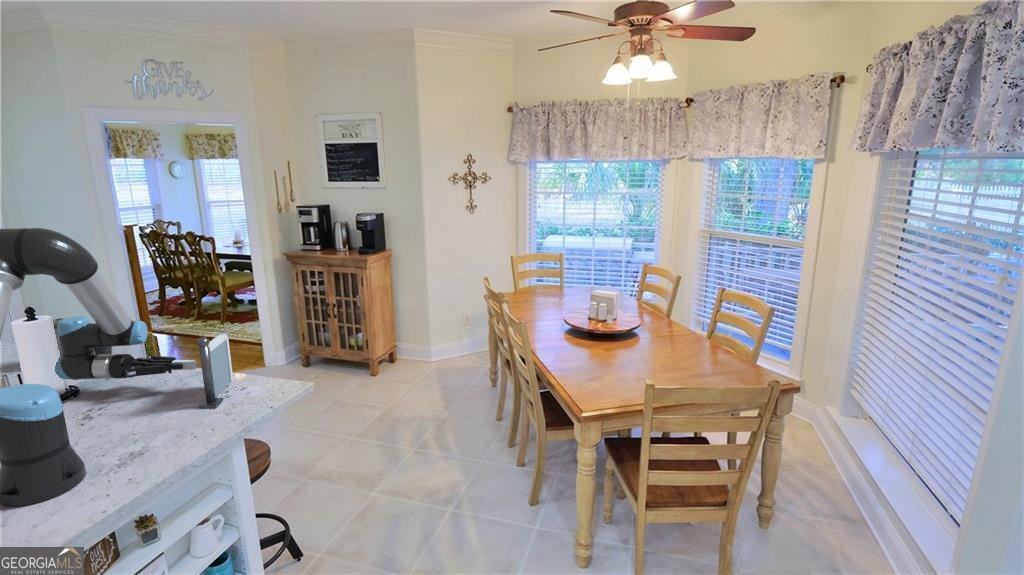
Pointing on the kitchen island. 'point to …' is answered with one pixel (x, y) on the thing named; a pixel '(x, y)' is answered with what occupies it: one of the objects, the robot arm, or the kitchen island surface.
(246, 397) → the kitchen island surface
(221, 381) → the panel
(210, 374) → the metal joystick
